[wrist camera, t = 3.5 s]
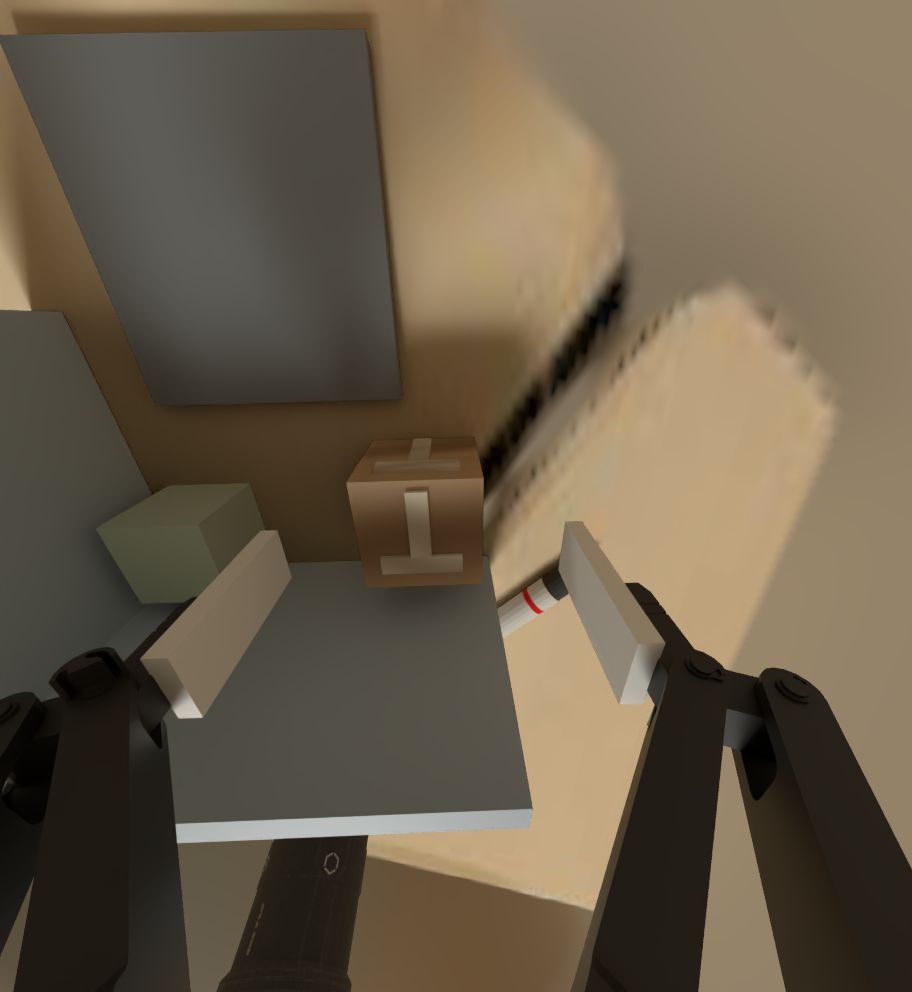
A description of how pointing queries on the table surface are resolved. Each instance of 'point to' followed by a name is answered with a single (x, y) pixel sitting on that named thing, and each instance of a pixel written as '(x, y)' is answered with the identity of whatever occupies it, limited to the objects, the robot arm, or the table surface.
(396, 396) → the mat
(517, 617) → the marker
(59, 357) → the screen
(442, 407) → the table surface
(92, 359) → the table surface
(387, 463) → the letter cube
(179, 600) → the plain cube
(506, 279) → the table surface
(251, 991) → the grenade
